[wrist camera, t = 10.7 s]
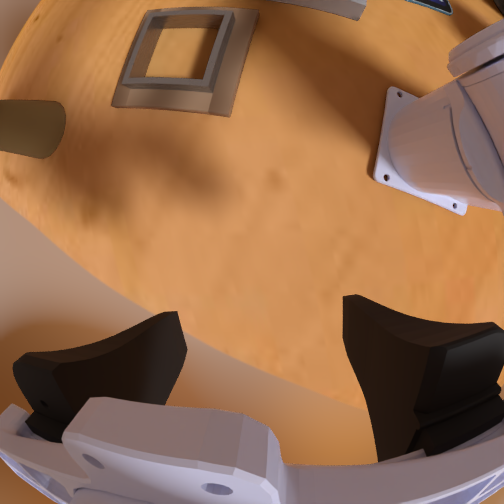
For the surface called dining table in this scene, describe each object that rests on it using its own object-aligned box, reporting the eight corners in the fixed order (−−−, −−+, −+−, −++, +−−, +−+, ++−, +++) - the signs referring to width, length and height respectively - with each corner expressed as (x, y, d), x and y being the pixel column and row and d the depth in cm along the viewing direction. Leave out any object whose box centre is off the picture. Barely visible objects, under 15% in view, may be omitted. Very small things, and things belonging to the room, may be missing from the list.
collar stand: (259, 14, 15) (257, -1, 13) (230, 117, 18) (224, 109, 16) (150, 14, 16) (140, 2, 13) (116, 108, 18) (101, 102, 16)
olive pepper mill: (28, 162, 20) (-53, 167, 9) (33, 109, 18) (-43, 98, 8) (63, 154, 19) (-30, 152, 9) (69, 94, 18) (-15, 71, 7)
